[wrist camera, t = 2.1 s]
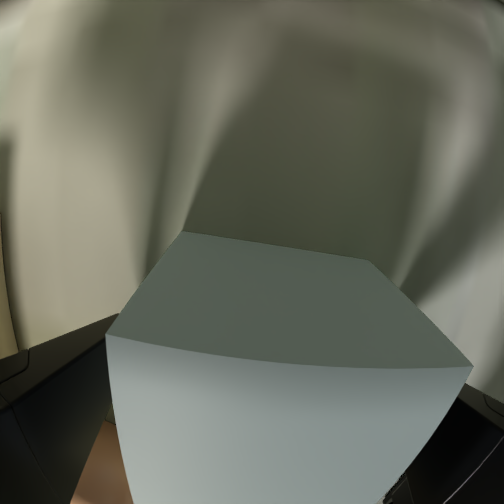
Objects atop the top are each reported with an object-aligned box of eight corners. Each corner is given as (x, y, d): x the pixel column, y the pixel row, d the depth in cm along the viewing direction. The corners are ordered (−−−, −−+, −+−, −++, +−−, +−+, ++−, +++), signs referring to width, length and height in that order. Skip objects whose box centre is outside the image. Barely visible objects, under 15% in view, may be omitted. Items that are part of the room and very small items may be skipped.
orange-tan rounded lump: (145, 430, 11) (122, 507, 7) (150, 479, 12) (135, 541, 9) (54, 402, 11) (16, 465, 7) (72, 456, 12) (48, 511, 8)
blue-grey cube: (367, 259, 9) (473, 366, 4) (321, 397, 11) (355, 523, 6) (182, 230, 9) (104, 333, 4) (171, 381, 10) (136, 513, 5)
